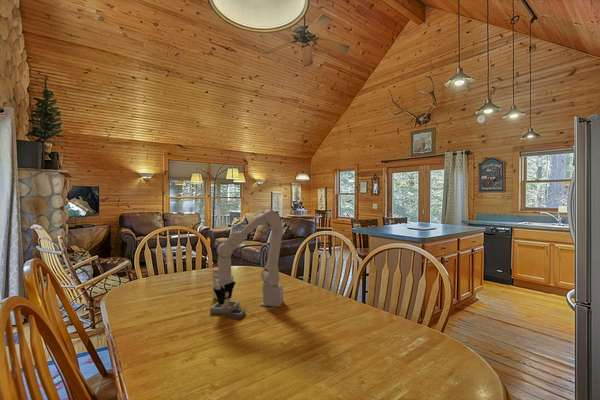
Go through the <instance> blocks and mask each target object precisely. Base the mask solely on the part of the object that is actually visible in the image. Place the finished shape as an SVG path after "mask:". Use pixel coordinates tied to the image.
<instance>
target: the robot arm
mask: <svg viewBox="0 0 600 400" xmlns="http://www.w3.org/2000/svg"><path fill="white" fill-rule="evenodd" d="M264 225H267V226H268V227H269V229H270V230H271V235H270V240H269V241H270V242H269V246H268V253H267V259H266V264H265V265H264V267H263V270H262V271H261V275H260V276H261V279H262V280H263V282H262V301H261V303H260V304H259V305H260V306H265V307H267V306H268V307H281V305H282V304H283V302H284V286H283V285H282V284H279V283H280V274H279V272H280V270H279V269H280V268H279V265H278V263H279V258H280V252H281V246H282V239H283V234H284V233H283V232H284V225H283V223H282V221H281V216H280V215H279V214H278V212H276V211H275V210H269V209H264V210H262V211H261V212H260V213H258V214H257V215H256V216H255V217H254V218H252V220H251V221H250V222H248V224H246V225H245V226H244V227H243V228H242V229H241V230H240V231H238V230H237V231H235V232H234V231H233V232H231V235H230V236H229V237H228V238H227V239H224V240H223V243H220V244H219V245H218V246H217V248H216V253H217V256H218V257H217V268H218V279H217V280H216V282H217V284H216V285H215V288H213V287H212V291H213V290H214V292H215V294H216V296H217V299H216V300H217V302H218V303H219V304H224V300H225V293H226V292H229V299H231V298H232V295H233V291H234V287H235V285H236V281H234V275H233V276H232V259H231V257H232V254H233V251H235V250H236V249H237V248H238V247H240V246H241V245H242V244H243V243H244V242H245V239H246V237H247V236H248V235H249V234H250V233H252V232H253V231H254V230H255V229H256V228H258V227H259V226H264ZM223 286H224V288H223Z"/></svg>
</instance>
